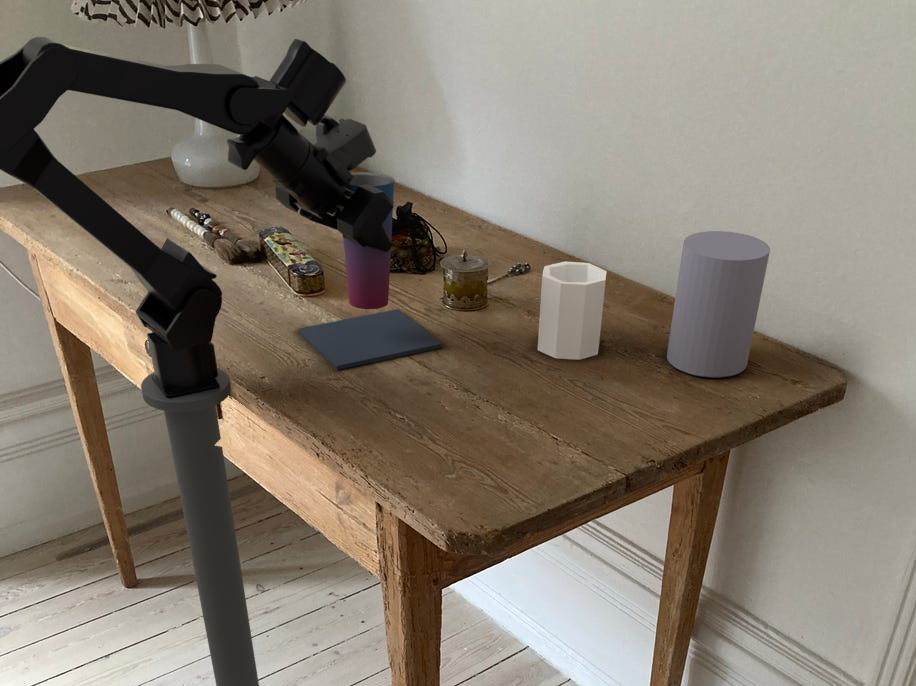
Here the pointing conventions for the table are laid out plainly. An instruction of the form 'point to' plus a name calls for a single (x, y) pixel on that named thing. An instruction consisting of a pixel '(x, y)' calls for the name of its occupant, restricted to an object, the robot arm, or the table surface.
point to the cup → (369, 254)
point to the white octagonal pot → (571, 310)
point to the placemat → (369, 339)
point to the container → (716, 303)
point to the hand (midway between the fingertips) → (375, 241)
